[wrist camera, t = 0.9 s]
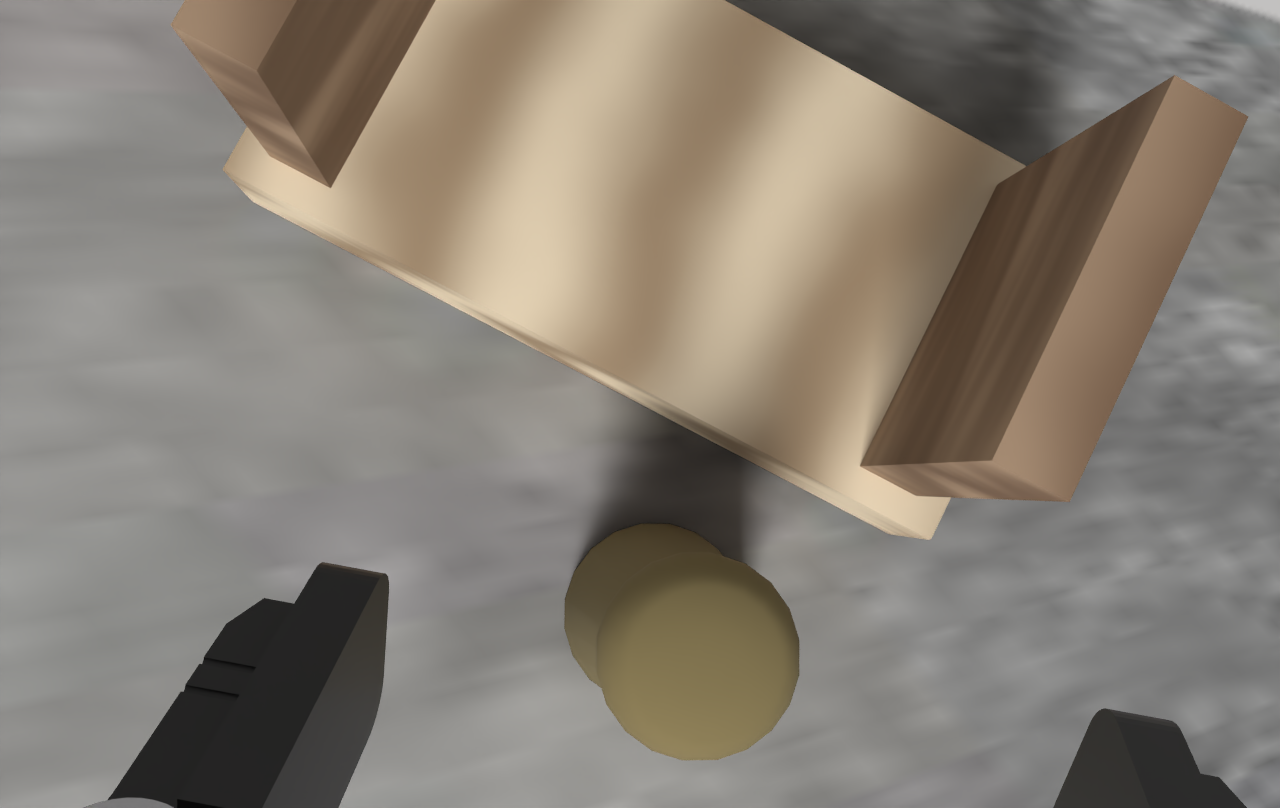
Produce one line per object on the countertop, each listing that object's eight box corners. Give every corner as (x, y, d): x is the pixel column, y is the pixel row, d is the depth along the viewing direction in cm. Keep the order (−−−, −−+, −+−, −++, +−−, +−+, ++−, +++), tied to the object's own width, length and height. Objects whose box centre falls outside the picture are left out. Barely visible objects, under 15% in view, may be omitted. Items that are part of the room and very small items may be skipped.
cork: (694, 491, 39) (763, 495, 28) (773, 653, 39) (874, 719, 28) (532, 573, 38) (539, 609, 28) (613, 738, 38) (652, 840, 27)
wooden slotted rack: (252, 201, 38) (103, 42, 24) (426, -105, 40) (377, -422, 26) (889, 534, 40) (1089, 562, 26) (1035, 229, 41) (1301, 100, 27)
